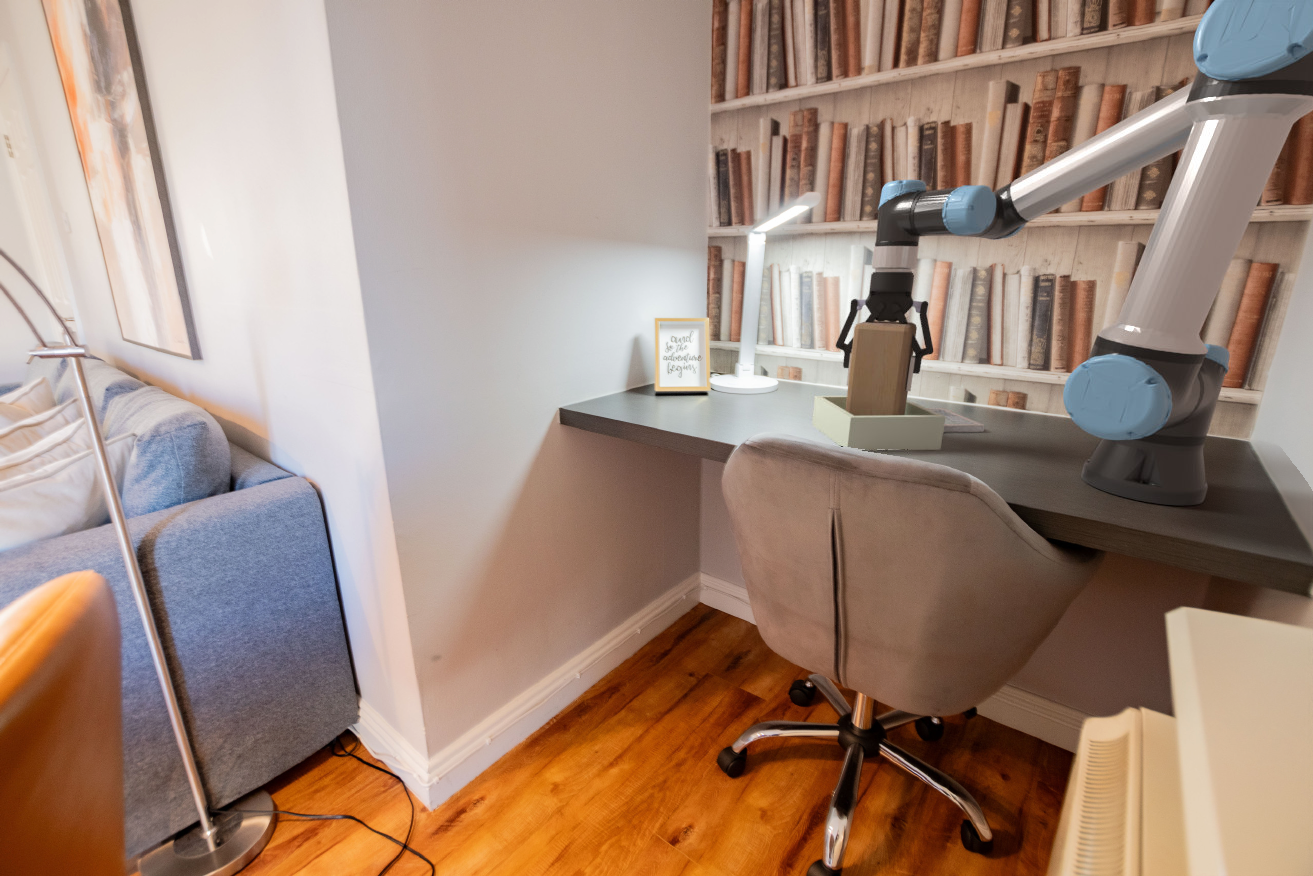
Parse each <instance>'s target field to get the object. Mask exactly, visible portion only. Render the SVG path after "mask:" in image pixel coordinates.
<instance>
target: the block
mask: <svg viewBox="0 0 1313 876" xmlns="http://www.w3.org/2000/svg"><path fill="white" fill-rule="evenodd" d="M917 327H918V326H917V324H916V323H914V322H910V321H908V324H900V323H899V321H896V322H890V321H877V320H874V322H872V323H868V322H865V321H862V322H860V323H856V324H855V326H854V327H853V328H854V329H853V330H854V331H853V337H852V338H853V346H852V355H851V364H850V373H849V382H848V386H847V394H846V396H847V400H846V410H845V411H847V412H849V413H850V414H852V415H854V416H886V415H905V408H906V401H907V400H908V392H909V391H906V389H907V382H908V375H909V367H910V360H911V355H913V356H914V351H913V349H912V347H911V343H912V335H913V334H914V335H915V337H917V330H918V329H917Z"/></svg>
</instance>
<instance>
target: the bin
mask: <svg viewBox="0 0 1313 876" xmlns="http://www.w3.org/2000/svg"><path fill="white" fill-rule="evenodd" d="M846 400H847V395H815V396H814V402H813V412H812V414H813V415H812V427H814V428H815V429H816V430H818V431H819V432H821V433H822V434H823V435H824V436H826V437H827V438H828V439H830V440H832V441H833V442H834V443H835V444H837V445H838V446H839V445H841V446H846V447H851V448H858V449H865V450H874V451H876V452H877V449H885V450H888V449H905V450H904V451H931V450H932V451H934V450H935V451H936V450H939V451H941V447H942V441H943V435H944V433H943V430H944V424H946V422H945V421H946V419H947V418H946V416H943V415H941V414H939V413H936V412H934V411H932V410H929V409H927V408H928V407H925V406H922V405H920V404H918V403H916V402H913V401H910V400H908V399H907V401H906V408H905V415H886V416H854V415H852V414H850V413H849V412H847V411H845V410H846ZM841 446H840V447H841ZM907 449H908V450H907ZM874 451H873V452H874ZM888 451H889V450H888Z"/></svg>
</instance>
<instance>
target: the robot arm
mask: <svg viewBox="0 0 1313 876" xmlns="http://www.w3.org/2000/svg"><path fill="white" fill-rule="evenodd" d="M1192 45H1193V46H1192V50H1193V51H1192V52H1193V60H1194V63H1195V66H1196V67H1197V68H1198V69H1197V71H1196V74H1195V77H1194V79H1193V81H1192V82H1190V83H1189V84H1187V85H1185V86H1183V87H1181V88H1180V89H1177V90H1176V91H1174V92H1172V93H1170V94H1169V95H1167V96H1165V97H1163V98H1162V99H1161V98H1160V99H1159V100H1157V101H1156V102H1154V103H1153V104H1150V105H1148V106H1147V107H1145V108H1143V109H1141V110H1140V111H1138V112H1136V113H1134V114H1132V115H1130V116H1129V117H1127V118H1125V119H1124V120H1121V121H1119V122H1118V123H1116V124H1114V125H1112V126H1110V127H1109V128H1107V129H1106V130H1105V129H1104V130H1103V131H1102V132H1100V133H1098V134H1096V135H1094V136H1092V137H1090V138H1088V139H1086V140H1085V141H1083V142H1082V143H1081V142H1080V144H1078V145H1076V146H1074V147H1073V148H1071V149H1069V150H1067V151H1065V152H1064V153H1061V154H1060V155H1058V156H1056V157H1055V158H1052V159H1051V160H1048V161H1046V162H1045V163H1043V164H1041V165H1040V166H1038V167H1036V168H1034V169H1032V170H1030V171H1029V172H1027V173H1025V174H1023V175H1021V176H1020V177H1018V178H1017V179H1014V180H1013V181H1011V182H1010V183H1008V184H1006V185H1003V186H1001V187H999V188H998V189H996V190H994V191H992V188H991V187H990V186H989V185H983V184H979V185H970V184H965V185H962V186H958V187H947V188H941V189H935V190H927V184H926V182H925V181H924V180H920V179H901V180H899V179H898V180H893V181H889V182H887V183H885V184H884V185H883V187H882V189H881V193H880V198H879V199H880V200H879V205H878V207H877V211H878V213H877V221H876V222H877V223H876V224H877V225H876V236H875V237H876V239H875V243H874V247H873V248H874V249H873V258H872V264H871V265H872V266H871V268H872V269H874V271H873V272H872V273H870V274H871V275H870V285H869V293H868V296H867V297H866V299H858V298H854V299H851V301H850V310H849V314H848V316H847V318H846V320H845V322H844V324H843V327H842V329H841V332H840V334H839V336H838V339H837V341H836V343H835V347H836V349H838V350H841V351H843V352H844V353H843V361H842V362H843V363H842V364H843V365H842V366H843V369H848V372H847V379H846V386H847V387H848V382H849V373H850V364H851V355H852V346H853V337H852V338H851V340H850V341H849V342H848V343H845V342H846V340H847V337H848V336H849V333H850V330H851V329H852V326H853V324H854V322H855V320H856V317H857V315H858V311H861V310H862V309H863V306H866V307H867V310H868V311H869V313H870V315H869V316H868V317H867V318H866V320H865V321H864V322H868V323H872V322H874V320H875V321H890V322H899V323H900V324H908V322H909V321H908V319H907V317H906V314H907V313H908V312H909V311H910V310H911V308H912V307H913V308H914V309H915V312H916V313H917V314H919V320H920V325H921V331H922V337H923V341H924V345H925V347H923V348H921V346H920V344H919V341H918V340H917V338H916V337H917V336H916V337H915V335H914V334H913V335H912V343H911V347H912V349H913V351H914V352H913V355H911V360H910V367H909V375H908V382H907V389H906V391H908V392H911V390H912V389H911V388H912V384H913V383H912V382H913V377H914V374H916V375H917V374H920V372H921V367H922V360H923V357H925V356H928V355H932V354H933V353H934V347H933V346H934V345H933V341H932V335H931V330H930V324H929V319H928V314H927V313H928V308H929V302H928V301H927V300H923V301H918V300H914V299H913V297H912V294H913V293H912V292H913V286H914V279H915V274H914V272H913V271H912V270H914V269H916V264H917V258H918V257H917V256H918V252H919V251H918V250H919V242H920V237H932V236H933V237H934V236H935V237H943V236H947V237H948V236H951V237H952V236H954V237H964V238H965V237H969V238H979V239H980V238H981V239H988V240H1001V239H1008V238H1012V237H1013V236H1014V237H1015V235H1017V234H1018V233H1019V232H1021V230H1023V229H1024V227H1025V226H1026V224H1027V223H1029V222H1032V221H1033V220H1035V219H1038V218H1039V217H1042V216H1044V215H1046V214H1048V213H1050V212H1052V211H1054V210H1056V209H1058V208H1060V207H1063V206H1064V205H1067V204H1070V203H1071V202H1073V201H1076V200H1077V199H1079V198H1080V199H1081V198H1082V197H1083V196H1086V195H1088V194H1090V193H1093V192H1095V191H1096V190H1098V189H1101V188H1102V187H1105V186H1106V185H1109V184H1111V183H1112V182H1116V181H1118V180H1120V179H1122V178H1123V177H1126V176H1128V175H1129V174H1133V173H1134V172H1136V171H1138V170H1140V169H1143V168H1144V167H1146V166H1148V165H1151V164H1153V163H1155V162H1157V161H1159V160H1161V159H1163V158H1165V157H1167V156H1169V155H1172V154H1174V153H1176V152H1178V151H1180V150H1182V149H1183V151H1182V153H1181V155H1180V158H1179V160H1178V163H1177V166H1176V169H1175V171H1174V174H1173V176H1172V179H1171V182H1170V183H1169V186H1168V189H1167V191H1166V193H1165V197H1164V199H1163V202H1162V204H1161V207H1160V210H1159V211H1158V212H1159V213H1158V214H1157V217H1156V219H1155V223H1154V224H1153V226H1152V227H1153V228H1152V230H1151V231H1150V236H1149V238H1148V241H1147V242H1146V245H1145V248H1144V251H1143V253H1142V255H1141V258H1140V261H1139V263H1138V266H1137V269H1136V270H1135V274H1134V277H1133V279H1132V282H1131V284H1130V286H1129V289H1128V292H1127V294H1126V296H1125V300H1124V302H1123V304H1122V308H1121V310H1120V312H1119V315H1118V317H1117V320H1116V321H1115V322H1114V323H1112V324H1111V325H1109V326H1107V327H1105V328H1104V329H1101V330H1099V331H1098V333H1097V335H1096V338H1095V341H1094V343H1093V346H1092V348H1091V350H1090V353H1089V355H1088V358H1087V360H1086V361H1084V362H1082V363H1080V364H1079V365H1077V366H1076V368H1075V369H1074V370H1073V371H1072V372H1071V373H1070V374H1069V376H1068V377H1067V379H1066V381H1065V383H1064V384H1065V385H1064V388H1063V393H1062V397H1063V404H1064V407H1065V411H1066V413H1067V414H1068V415H1069V417H1070V418H1071V420H1072V422H1073V423H1075V425H1076V426H1078V427H1079V428H1080V429H1082V430H1083V431H1084V432H1086V433H1088V434H1090V435H1091V436H1094V437H1097V438H1100V441H1099V442H1098V444H1097V445H1096V446H1095V449H1094V450H1093V452H1092V454H1091V455H1090V457H1089V458H1088V459H1086V460H1085V462H1084V463H1083V467H1082V471H1081V475H1080V477H1081V479H1082V481H1083V482H1085V483H1086V484H1087V485H1090V486H1091V487H1094V488H1096V489H1099V490H1100V491H1103V492H1106V493H1109V494H1112V495H1116V496H1119V497H1123V498H1126V499H1131V500H1134V501H1138V502H1139V501H1141V502H1145V503H1152V504H1158V505H1168V506H1194V505H1199V504H1202V503H1203V502H1204V501H1205V498H1206V494H1207V491H1208V487H1209V486H1208V481H1206V471H1205V470H1206V469H1205V467H1206V466H1205V459H1204V448H1205V447H1204V446H1205V442H1206V439H1207V436H1208V433H1209V429H1210V426H1211V423H1212V419H1213V416H1214V413H1215V411H1216V407H1217V404H1218V400H1219V396H1220V394H1221V390H1222V387H1223V385H1224V384H1223V383H1224V381H1225V377H1226V375H1227V374H1228V372H1229V370H1230V367H1229V362H1230V357H1231V356H1230V355H1231V353H1230V350H1228V349H1227V348H1226V347H1225V346H1223V345H1222V346H1221V345H1217V344H1209V343H1204V342H1203V340H1202V339H1201V336H1200V333H1201V331H1202V327H1203V326H1204V324H1205V321H1206V319H1207V317H1208V314H1209V312H1210V310H1211V307H1212V305H1213V303H1214V302H1215V299H1216V297H1217V294H1218V292H1219V291H1220V288H1221V285H1222V283H1223V281H1224V280H1225V277H1226V274H1227V273H1228V270H1229V267H1230V265H1231V264H1232V261H1233V259H1234V257H1235V256H1236V255H1235V254H1236V252H1237V250H1238V248H1239V246H1240V243H1241V241H1242V239H1243V237H1244V235H1245V232H1246V230H1247V228H1248V225H1249V223H1250V221H1251V218H1252V216H1253V214H1254V212H1255V209H1256V208H1257V206H1258V203H1259V201H1260V199H1261V196H1262V194H1263V193H1264V190H1265V188H1266V185H1267V184H1268V181H1269V179H1270V176H1271V175H1272V172H1273V170H1274V168H1275V166H1276V163H1277V161H1278V159H1279V156H1280V154H1281V152H1282V150H1283V147H1284V145H1285V143H1286V141H1287V138H1288V136H1289V134H1290V132H1291V130H1292V127H1293V125H1294V124H1295V123H1296V122H1297V121H1298V120H1299V119H1301V118H1303V117H1304V116H1305V115H1308V114H1309V113H1311V112H1312V111H1313V0H1214V1H1213V2H1212V3H1211V4H1210V6H1209V7H1208V8H1207V9H1206V11H1205V13H1204V14H1203V16H1202V18H1201V19H1200V21H1199V23H1198V25H1197V28H1196V30H1195V33H1194V38H1193V44H1192Z"/></svg>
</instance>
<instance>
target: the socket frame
mask: <svg viewBox="0 0 1313 876" xmlns="http://www.w3.org/2000/svg"><path fill="white" fill-rule="evenodd" d="M926 408H927V409H929V410H932V411H934V412H936V413H939V414H941V415H943V416H946V418H945V419H947V420H950V421H952V422H954V423H945V424H944V430H943V434H944V433H984V431H985V427H986V426H985V424H982V423H980V422H978V421H976V420H973V419H970V418H968V417H965V416H964V415H961V414H959V413H956V412H953V411H951V410H949V409H946V408H944V407H926Z"/></svg>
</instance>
